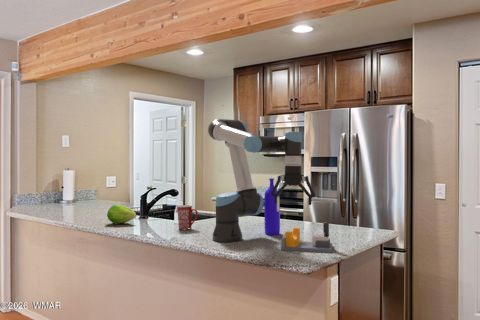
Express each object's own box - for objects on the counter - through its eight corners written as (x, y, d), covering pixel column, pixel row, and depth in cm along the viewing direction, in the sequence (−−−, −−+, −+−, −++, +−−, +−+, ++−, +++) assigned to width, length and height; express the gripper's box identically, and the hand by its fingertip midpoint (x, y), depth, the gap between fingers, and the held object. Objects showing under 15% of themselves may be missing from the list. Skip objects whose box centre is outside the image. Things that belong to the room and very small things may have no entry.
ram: (312, 245, 174) (312, 223, 174) (313, 243, 179) (312, 221, 179) (328, 246, 173) (328, 223, 173) (329, 243, 177) (328, 221, 177)
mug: (174, 229, 226) (173, 206, 226) (181, 227, 235) (181, 204, 235) (193, 231, 222) (193, 207, 222) (200, 228, 231) (200, 205, 230)
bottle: (267, 235, 206) (267, 179, 206) (262, 233, 214) (261, 178, 214) (282, 234, 208) (281, 178, 208) (276, 232, 216) (276, 177, 216)
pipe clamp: (294, 247, 173) (294, 232, 173) (285, 246, 175) (285, 231, 175) (303, 241, 183) (303, 228, 183) (294, 241, 185) (294, 227, 185)
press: (280, 250, 174) (280, 237, 174) (284, 243, 186) (284, 232, 186) (331, 252, 168) (331, 239, 168) (332, 246, 181) (332, 234, 181)
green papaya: (127, 226, 239) (127, 207, 239) (102, 224, 247) (102, 205, 247) (142, 223, 251) (142, 204, 251) (118, 221, 260) (117, 203, 260)
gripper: (264, 165, 178) (264, 211, 178) (320, 165, 172) (320, 214, 172) (267, 164, 185) (267, 209, 186) (321, 165, 179) (321, 211, 180)
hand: (292, 211), depth 179 cm, fingers open, 13 cm apart
